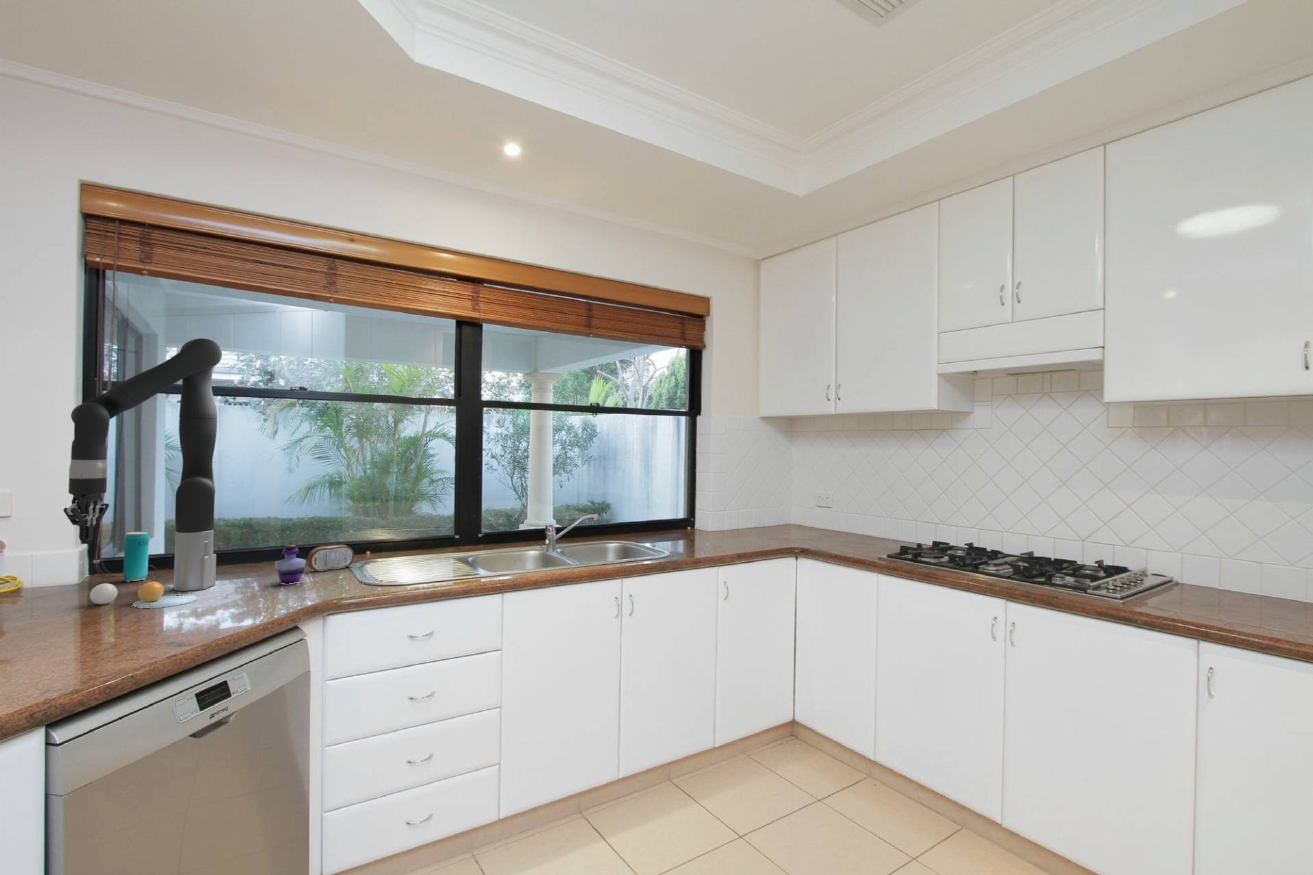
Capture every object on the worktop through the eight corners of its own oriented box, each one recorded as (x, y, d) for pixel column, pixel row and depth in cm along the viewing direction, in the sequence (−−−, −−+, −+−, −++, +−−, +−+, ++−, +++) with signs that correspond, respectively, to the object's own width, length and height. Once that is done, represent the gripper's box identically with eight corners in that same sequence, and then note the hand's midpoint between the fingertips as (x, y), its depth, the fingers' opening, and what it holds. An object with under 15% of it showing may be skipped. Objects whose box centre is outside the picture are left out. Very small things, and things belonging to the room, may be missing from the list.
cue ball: (100, 580, 165) (109, 597, 167) (80, 591, 160) (89, 609, 161) (117, 578, 164) (126, 596, 166) (97, 590, 159) (106, 608, 161)
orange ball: (143, 595, 168) (163, 601, 169) (129, 600, 163) (150, 607, 164) (151, 576, 169) (171, 583, 169) (137, 581, 163) (158, 588, 164)
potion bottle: (311, 582, 193) (312, 544, 193) (285, 587, 185) (286, 548, 185) (293, 578, 196) (294, 542, 197) (267, 584, 189) (268, 545, 189)
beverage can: (152, 579, 191) (153, 531, 192) (135, 583, 186) (136, 534, 186) (135, 578, 192) (137, 531, 192) (118, 582, 186) (119, 533, 186)
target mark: (208, 594, 175) (208, 594, 175) (177, 608, 161) (177, 607, 161) (154, 595, 173) (154, 594, 173) (118, 609, 159) (118, 608, 159)
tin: (351, 566, 218) (351, 542, 218) (355, 567, 216) (355, 544, 216) (306, 572, 206) (306, 547, 207) (309, 573, 204) (310, 549, 205)
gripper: (84, 478, 158) (82, 544, 158) (121, 475, 171) (119, 536, 171) (52, 477, 157) (49, 544, 157) (91, 474, 170) (89, 536, 170)
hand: (86, 539), depth 164 cm, fingers closed
